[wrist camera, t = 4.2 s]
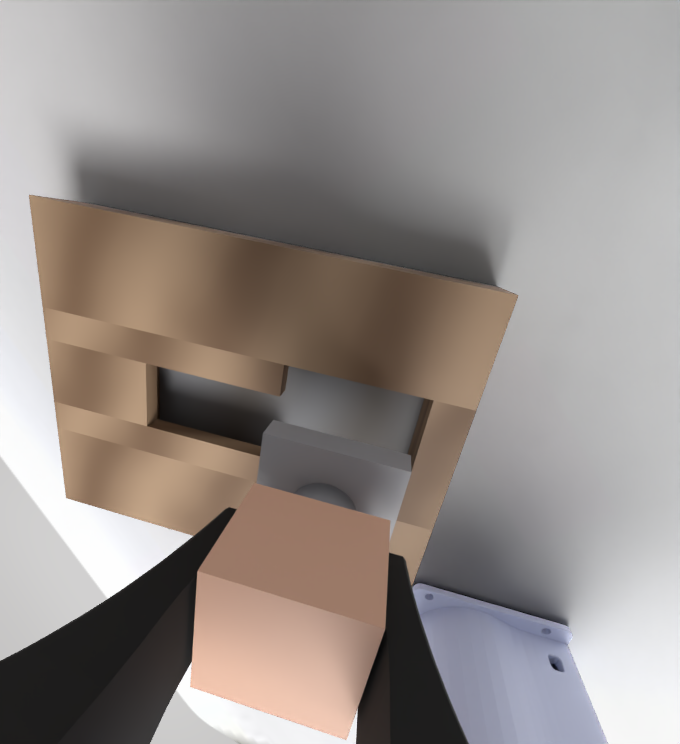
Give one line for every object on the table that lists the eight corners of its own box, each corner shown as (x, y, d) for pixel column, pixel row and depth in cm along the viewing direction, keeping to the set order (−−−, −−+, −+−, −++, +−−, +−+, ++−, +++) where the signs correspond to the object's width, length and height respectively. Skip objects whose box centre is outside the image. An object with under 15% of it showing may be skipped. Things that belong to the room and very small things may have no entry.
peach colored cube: (410, 455, 12) (417, 619, 7) (378, 560, 14) (362, 758, 8) (273, 419, 13) (175, 546, 7) (258, 526, 14) (171, 692, 9)
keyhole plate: (496, 286, 16) (518, 295, 13) (407, 550, 21) (407, 599, 18) (92, 203, 18) (28, 194, 15) (109, 465, 23) (66, 497, 20)
